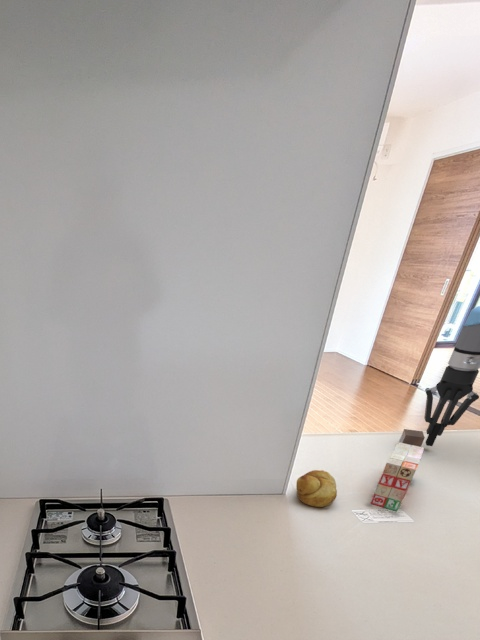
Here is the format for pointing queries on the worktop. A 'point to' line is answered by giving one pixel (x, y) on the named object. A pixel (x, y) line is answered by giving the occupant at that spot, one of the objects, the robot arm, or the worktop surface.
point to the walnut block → (412, 437)
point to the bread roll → (316, 488)
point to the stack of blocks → (397, 476)
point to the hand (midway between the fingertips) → (428, 444)
